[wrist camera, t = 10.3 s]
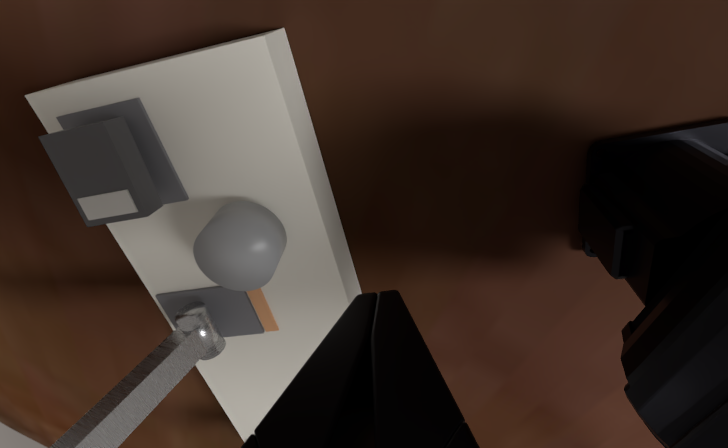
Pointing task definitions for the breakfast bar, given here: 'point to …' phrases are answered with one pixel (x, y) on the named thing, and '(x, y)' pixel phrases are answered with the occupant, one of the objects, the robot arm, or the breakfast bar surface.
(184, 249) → the control panel
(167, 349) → the copper ball joystick
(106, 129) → the block
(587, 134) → the breakfast bar surface
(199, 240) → the push button
